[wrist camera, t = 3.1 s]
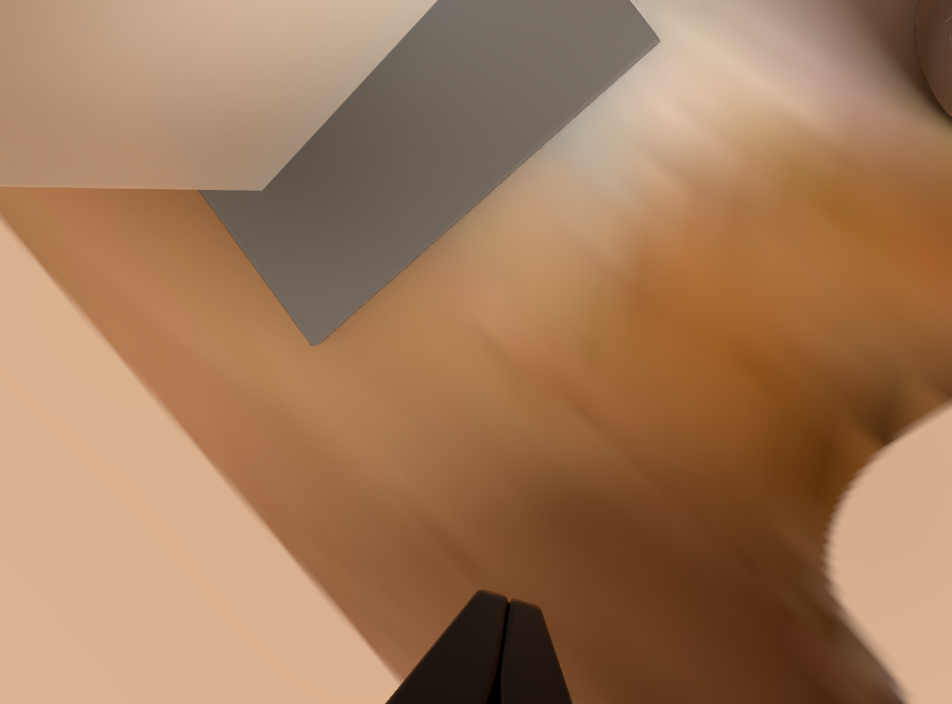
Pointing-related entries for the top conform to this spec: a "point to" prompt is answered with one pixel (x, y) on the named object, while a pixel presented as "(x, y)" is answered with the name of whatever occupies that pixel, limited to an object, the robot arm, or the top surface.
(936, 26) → the supplement bottle
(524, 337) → the top surface
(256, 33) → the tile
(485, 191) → the mat
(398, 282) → the top surface
